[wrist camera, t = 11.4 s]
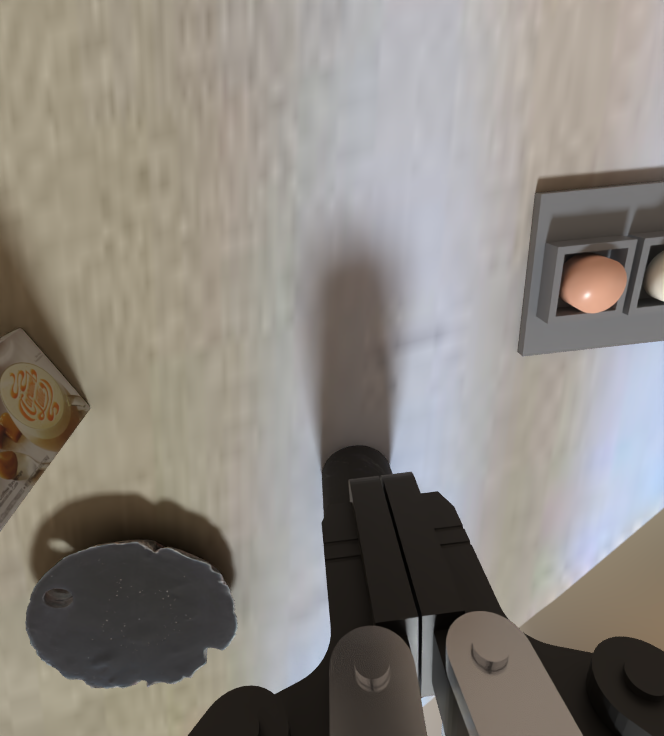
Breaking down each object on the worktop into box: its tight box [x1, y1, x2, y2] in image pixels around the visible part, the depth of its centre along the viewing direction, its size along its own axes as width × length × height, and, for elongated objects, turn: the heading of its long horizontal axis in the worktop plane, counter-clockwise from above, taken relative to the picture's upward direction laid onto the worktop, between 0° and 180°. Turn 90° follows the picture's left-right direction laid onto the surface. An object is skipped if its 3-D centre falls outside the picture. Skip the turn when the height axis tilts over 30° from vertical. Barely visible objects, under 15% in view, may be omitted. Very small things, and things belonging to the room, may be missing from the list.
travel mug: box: [322, 446, 423, 698], centre depth 38 cm, size 8×8×20 cm
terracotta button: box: [559, 252, 627, 313], centre depth 37 cm, size 4×4×2 cm
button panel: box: [518, 181, 664, 356], centre depth 38 cm, size 14×22×3 cm, turn 95°
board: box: [26, 540, 237, 689], centre depth 50 cm, size 22×22×5 cm
